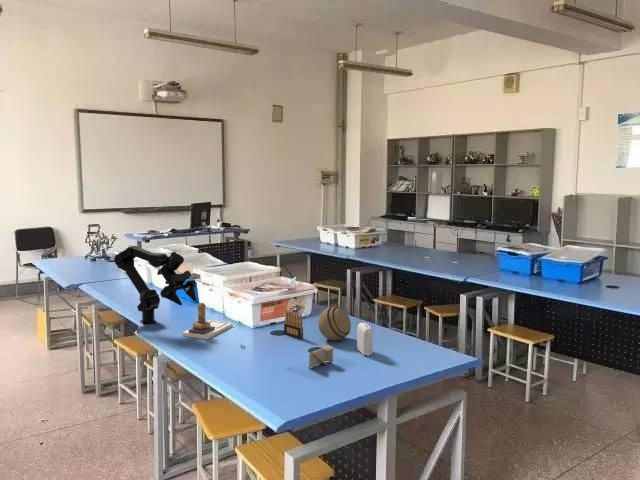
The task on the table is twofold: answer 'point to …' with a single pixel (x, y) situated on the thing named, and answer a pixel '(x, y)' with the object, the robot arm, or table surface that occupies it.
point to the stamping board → (218, 329)
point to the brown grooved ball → (334, 323)
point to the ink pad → (201, 331)
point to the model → (321, 356)
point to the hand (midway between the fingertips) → (188, 302)
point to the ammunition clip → (293, 324)
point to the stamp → (201, 318)
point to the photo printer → (364, 338)
